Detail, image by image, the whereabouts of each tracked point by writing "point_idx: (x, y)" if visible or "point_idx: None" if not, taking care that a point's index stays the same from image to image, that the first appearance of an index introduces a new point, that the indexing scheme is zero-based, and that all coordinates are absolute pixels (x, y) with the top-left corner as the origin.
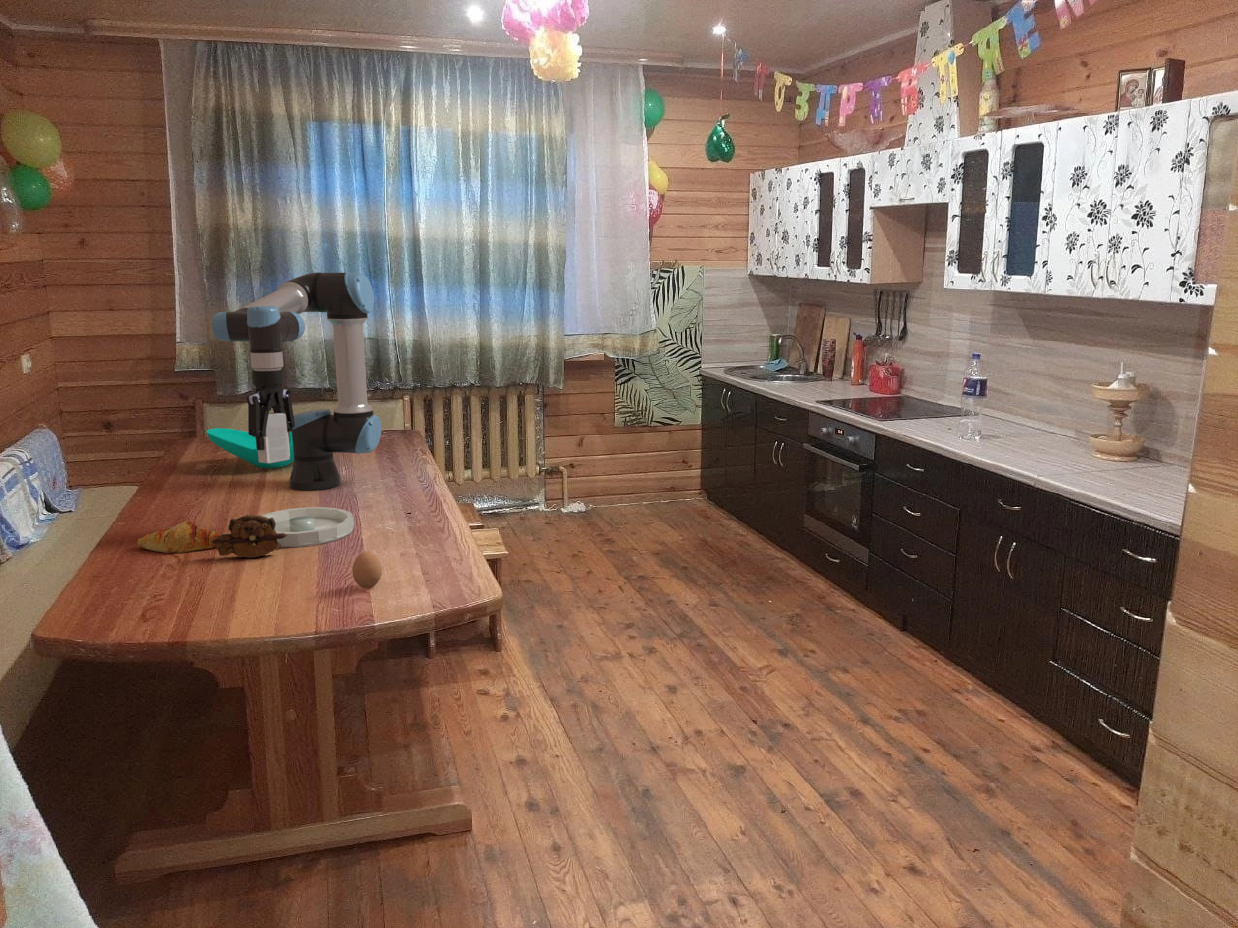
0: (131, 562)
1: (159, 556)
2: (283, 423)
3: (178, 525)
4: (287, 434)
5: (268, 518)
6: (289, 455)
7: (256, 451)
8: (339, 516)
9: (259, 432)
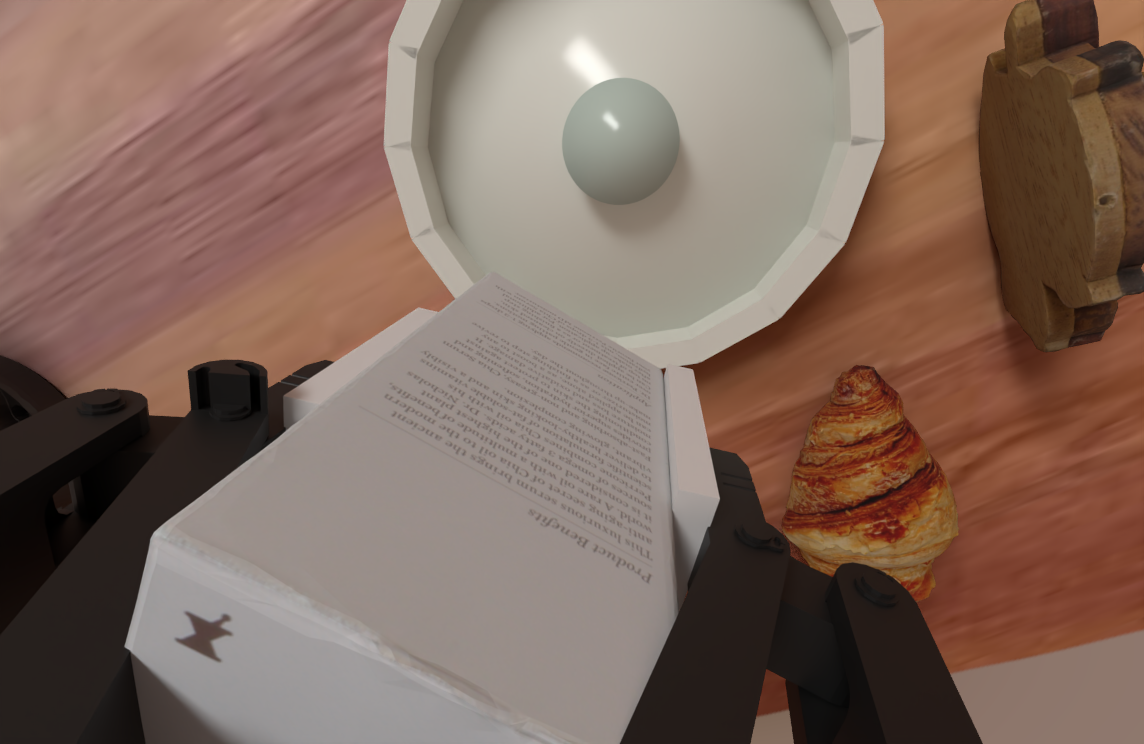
0: (1029, 568)
1: (962, 520)
2: (361, 448)
3: (916, 554)
4: (319, 386)
5: (1083, 98)
6: (420, 311)
7: None
8: (441, 29)
9: (844, 591)
